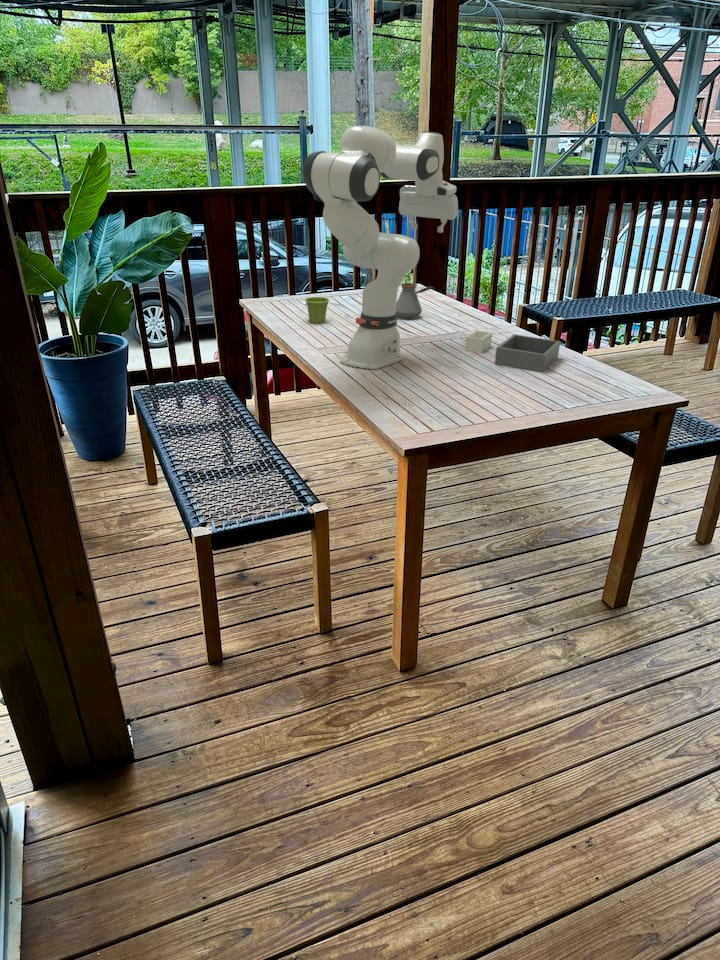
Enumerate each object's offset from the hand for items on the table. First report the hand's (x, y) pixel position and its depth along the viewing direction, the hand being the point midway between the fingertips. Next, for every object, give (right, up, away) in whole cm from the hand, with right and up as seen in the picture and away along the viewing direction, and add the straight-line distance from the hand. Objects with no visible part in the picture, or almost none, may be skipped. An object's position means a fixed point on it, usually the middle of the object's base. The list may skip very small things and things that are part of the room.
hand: (427, 230), depth 221 cm
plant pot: (-40, -22, +36) cm, 58 cm away
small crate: (+19, -38, +8) cm, 44 cm away
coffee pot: (-1, -20, +42) cm, 46 cm away
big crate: (+33, -45, -4) cm, 56 cm away
